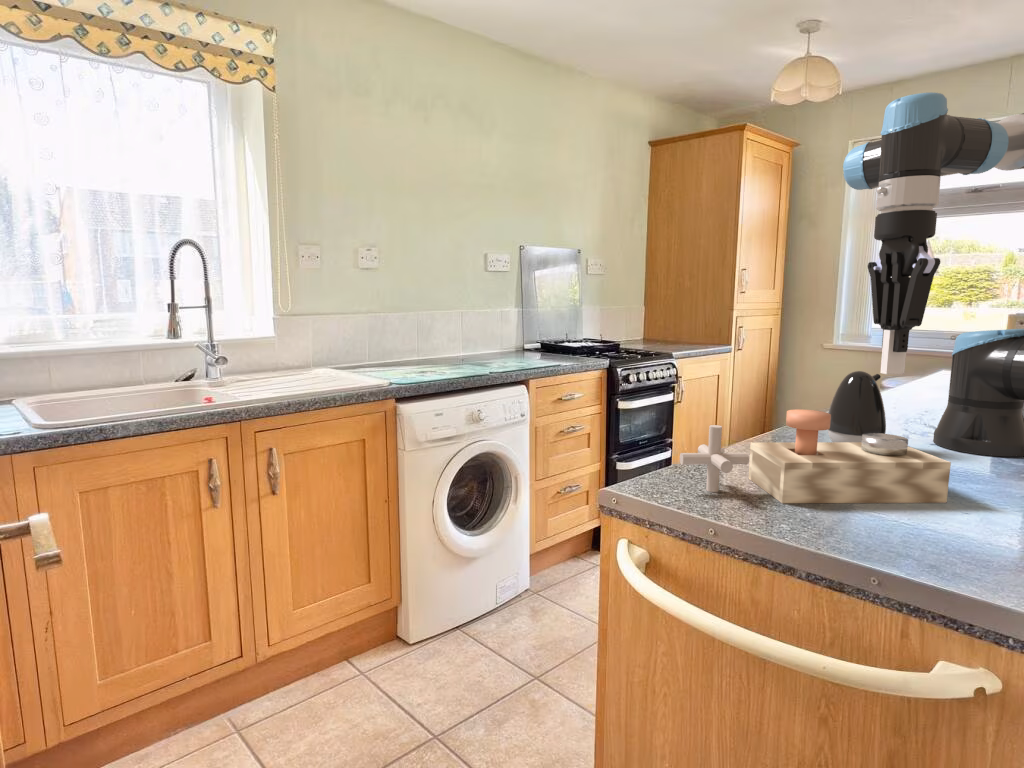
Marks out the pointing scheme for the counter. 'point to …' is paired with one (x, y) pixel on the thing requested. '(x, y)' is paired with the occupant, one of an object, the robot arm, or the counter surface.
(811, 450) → the terracotta plunger
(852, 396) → the pump dispenser
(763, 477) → the panel housing
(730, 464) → the pipe connector
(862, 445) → the grey shiny disc
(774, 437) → the counter surface
